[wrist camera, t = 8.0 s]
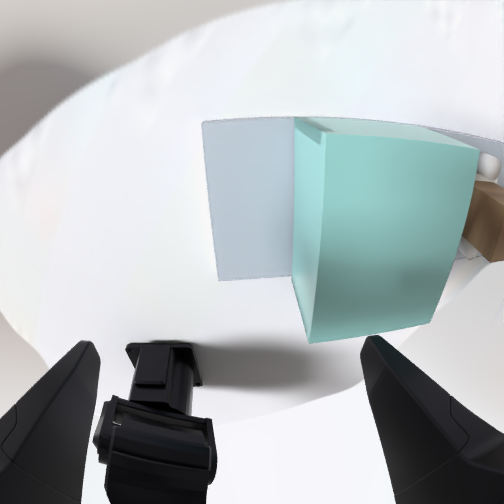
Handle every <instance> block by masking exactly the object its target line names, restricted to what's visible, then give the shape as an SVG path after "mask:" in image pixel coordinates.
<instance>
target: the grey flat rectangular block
mask: <svg viewBox="0 0 504 504" xmlns="http://www.w3.org/2000/svg"><path fill="white" fill-rule="evenodd" d="M326 118H330V117H326ZM347 119H350V118H347ZM362 120H364V119H362ZM374 121H376V120H374ZM385 122H386V121H385ZM394 123H395V122H394ZM402 124H404V123H402ZM201 125H202V137H203V148H204V159H205V169H206V179H207V189H208V198H209V207H210V216H211V225H212V233H213V242H214V250H215V258H216V266H217V273H218V281H228V280H242V279H257V278H270V277H283V276H292V258H293V226H294V117H259V118H239V119H224V120H212V121H203V122H202V124H201ZM410 125H411V124H410ZM417 126H418V125H417ZM421 127H424V128H427V129H429V130H432V131H435V132H438V133H440V134H443V135H446V136H448V137H451V138H453V139H456V140H458V141H461V142H463V143H465V144H468V145H470V146H472V147H475V148H477V149H479V150H480V153H479V160H478V166H477V172H476V177H475V180H476V181H487V182H494V183H496V184H498V185H499V186H501V187H503V188H504V143H502V142H498V141H494V140H490V139H486V138H482V137H478V136H473V135H469V134H464V133H459V132H454V131H449V130H443V129H437V128H431V127H425V126H421ZM479 256H483V255H482V254H481V253H480V252H479V251H478V250H477V249H476V248H474V247H473V246H472V245H471V244H470V243H469V242H468V241H467V240H466V239H465V238H464V237H462V236H461V240H460V243H459V246H458V249H457V253H456V256H455V259H463V258H467V259H473V258H474V257H479ZM455 259H454V260H455Z"/></svg>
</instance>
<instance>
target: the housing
mask: <svg viewBox="0 0 504 504" xmlns="http://www.w3.org/2000/svg"><path fill="white" fill-rule="evenodd" d="M479 153H480V150H479V149H477V148H475V147H472V146H470V145H468V144H465V143H463V142H461V141H458V140H456V139H453V138H451V137H448V136H446V135H443V134H440V133H438V132H435V131H432V130H429V129H427V128H424V127H421V126H417V125H410V124H402V123H394V122H385V121H374V120H362V119H347V118H326V117H294V226H293V258H292V283H293V287H294V291H295V294H296V298H297V301H298V305H299V309H300V312H301V316H302V320H303V323H304V327H305V331H306V335H307V338H308V342H309V344H310V343H318V342H326V341H333V340H341V339H347V338H354V337H360V336H366V335H372V334H378V333H383V332H389V331H394V330H399V329H404V328H409V327H414V326H418V325H423V324H427V323H430V321H431V319H432V317H433V314H434V312H435V310H436V307H437V305H438V302H439V300H440V297H441V295H442V292H443V290H444V287H445V284H446V282H447V279H448V276H449V273H450V271H451V268H452V265H453V262H454V259H455V256H456V253H457V249H458V246H459V243H460V240H461V236H462V233H463V229H464V225H465V222H466V218H467V214H468V210H469V206H470V201H471V197H472V192H473V188H474V183H475V177H476V172H477V166H478V160H479Z"/></svg>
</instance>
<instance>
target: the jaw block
mask: <svg viewBox="0 0 504 504" xmlns="http://www.w3.org/2000/svg"><path fill="white" fill-rule="evenodd" d="M462 237H464V238H465V239H466V240H467V241H468V242H469V243H470V244H471V245H472V246H473V247H474V248H476V249H477V250H478V251H479V252H480V253H481V254H482V255H483V256H484V257H485V258H486V259H487V260H488V261H489V262H490V263H491V262H497V261H503V260H504V188H503V187H501V186H499V185H498V184H496V183H494V182H487V181H476V180H475V183H474V188H473V192H472V197H471V201H470V206H469V210H468V214H467V218H466V222H465V225H464V229H463V233H462Z"/></svg>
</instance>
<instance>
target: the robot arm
mask: <svg viewBox="0 0 504 504" xmlns="http://www.w3.org/2000/svg"><path fill="white" fill-rule="evenodd" d="M125 350H126V352H127V354H128V356H129V358H130V360H131V362H132V364H133V366H134V368H135V372H134V376H133V381H132V385H131V390H130V394H129V399H128V400H125V399H121V398H119V397H118V396H115V395H112V399H111V401H106V402H104V405H103V409H102V413H101V416H100V420H99V422H98V425H97V428H96V431H95V433H94V437H93V444H94V445H95V447H96V448H97V453H98V454H99V459H98V460H99V463H102V464H106V465H107V468H106V476H105V484H104V488H105V491H106V493H107V496H108V498H109V501H110V503H111V504H206V495H207V488H208V485H210V484H211V483H212V482H213V480H214V478H215V474H216V469H217V451H216V445H215V438H214V432H213V425H212V419H210V418H205V419H204V418H199V417H194V416H191V412H192V396H193V387H195V386H202V385H203V380H202V377H201V373H200V370H199V367H198V363H197V360H196V356H195V353H194V349H193V347H192V345H190V344H128V345H127V346H126V349H125ZM360 359H361V364H362V369H363V374H364V379H365V385H366V390H367V395H368V399H369V403H370V406H371V409H372V413H373V416H374V419H375V423H376V426H377V430H378V434H379V437H380V441H381V444H382V448H383V452H384V456H385V459H386V463H387V467H388V471H389V475H390V479H391V484H392V488H393V492H394V494H395V495H394V497H395V502H396V504H504V434H503V433H501V432H500V431H498V430H496V429H495V428H494V427H492V426H491V425H490V424H488V423H487V422H485V421H484V420H482V419H481V418H479V417H478V416H477V415H475V414H474V413H473V412H471V411H470V410H468V409H467V408H466V407H464V406H463V405H462V404H461V403H459V402H458V401H457V400H456V399H455V398H454V397H453V396H450V394H449V393H448V392H447V391H445V390H444V389H443V388H442V387H441V386H439V385H438V384H437V383H436V382H435V381H434V380H432V379H431V378H430V377H429V376H428V375H426V374H425V373H424V372H423V371H422V370H420V369H419V368H418V367H417V366H416V365H415V364H413V363H412V362H411V361H410V360H409V359H407V358H406V357H405V356H404V355H403V354H401V353H400V352H399V351H398V350H397V349H395V348H394V347H393V346H392V345H391V344H389V343H388V342H387V341H386V340H385V339H383V338H382V337H381V336H379V335H373V336H368V337H367V338H366V340H365V343H364V345H363V347H362V350H361V353H360ZM100 363H101V361H100V356H99V354H98V352H97V350H96V348H95V346H94V344H93V343H92V342H91V341H84V340H82V341H80V342H78V343H77V344H76V345H75V346H74V347H73V348H72V349H71V350H70V351H69V352H68V353H67V354H65V355H64V356H63V357H62V358H61V359H60V360H59V361H58V362H57V363H56V364H55V365H54V366H53V367H52V368H51V369H50V370H49V371H48V372H47V373H46V374H45V375H44V376H43V377H41V378H40V380H39V381H37V382H36V383H35V384H34V385H33V387H31V388H30V389H29V390H28V391H27V392H26V394H25V395H24V396H23V397H21V398H20V399H19V400H18V401H17V403H16V404H14V405H13V406H12V407H11V408H10V410H8V412H7V413H6V414H5V415H3V416H2V418H0V504H81V498H82V486H83V478H84V470H85V462H86V455H87V448H88V442H89V437H90V431H91V425H92V419H93V415H94V410H95V405H96V398H97V388H98V379H99V371H100ZM115 423H117V424H115ZM119 424H121V425H119Z"/></svg>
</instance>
